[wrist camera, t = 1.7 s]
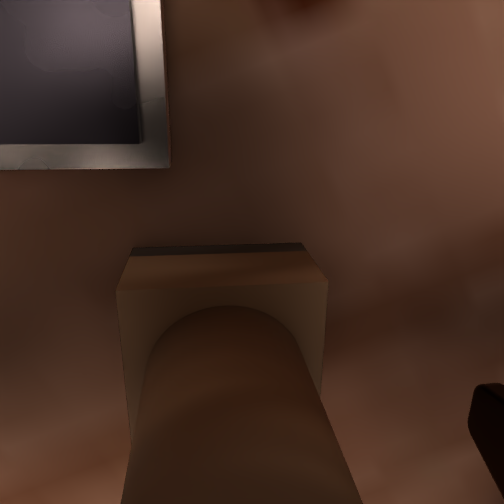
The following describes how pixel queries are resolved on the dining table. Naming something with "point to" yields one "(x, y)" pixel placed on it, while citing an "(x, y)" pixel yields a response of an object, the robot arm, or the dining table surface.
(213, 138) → the dining table surface
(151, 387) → the stamp
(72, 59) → the ink pad
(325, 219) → the dining table surface
